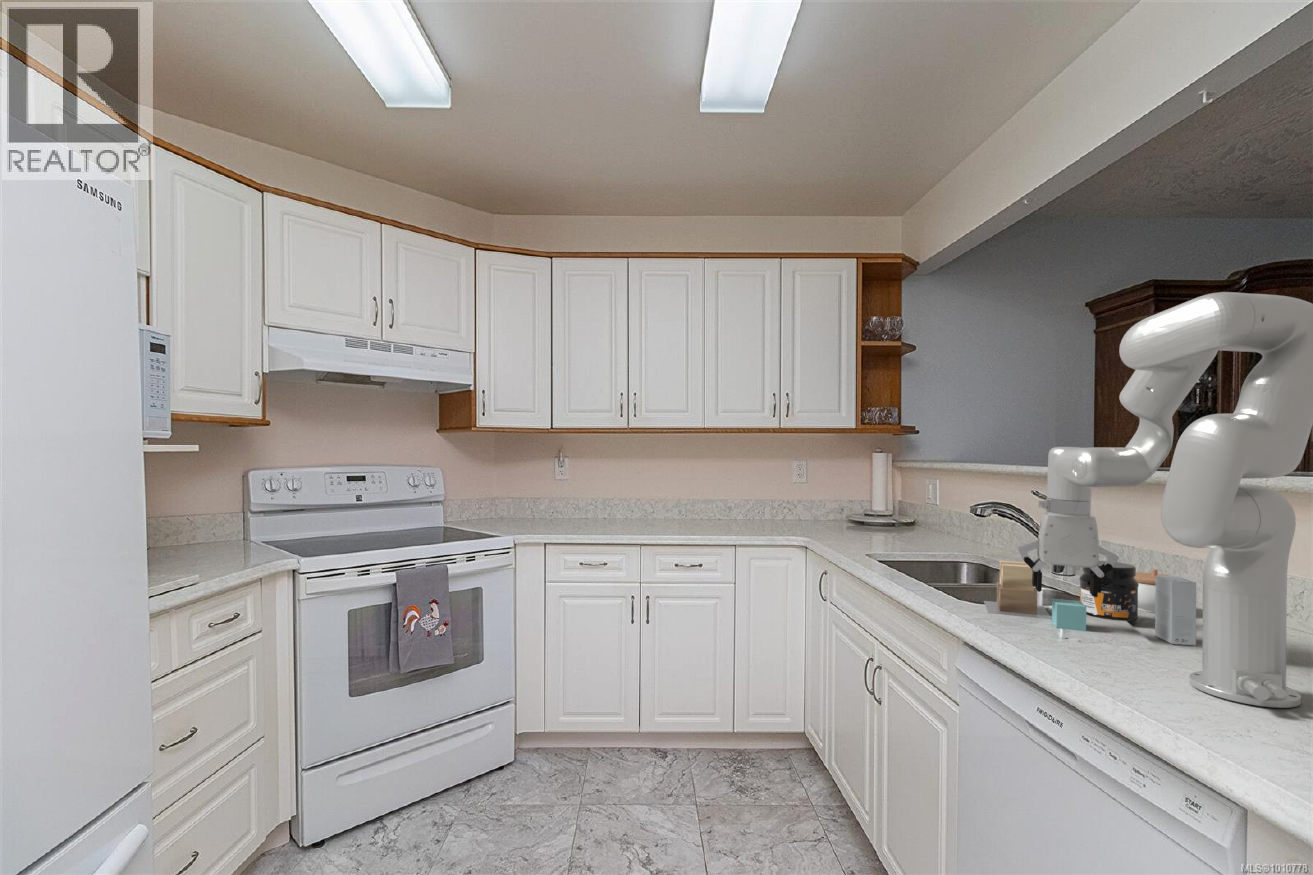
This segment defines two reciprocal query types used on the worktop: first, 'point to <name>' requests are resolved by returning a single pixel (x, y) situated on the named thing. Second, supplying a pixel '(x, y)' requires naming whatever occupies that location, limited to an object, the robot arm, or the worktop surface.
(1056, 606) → the teal block
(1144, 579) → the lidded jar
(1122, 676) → the worktop surface
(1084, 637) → the worktop surface
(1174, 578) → the skincare box
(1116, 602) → the supplement container
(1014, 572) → the oak mid block
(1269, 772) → the worktop surface
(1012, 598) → the walnut base block
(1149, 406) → the robot arm
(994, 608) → the slate board
